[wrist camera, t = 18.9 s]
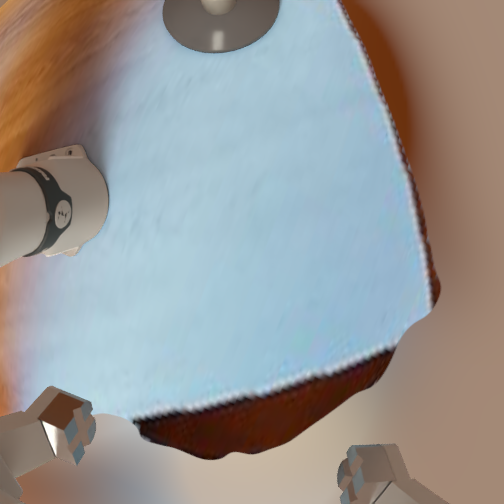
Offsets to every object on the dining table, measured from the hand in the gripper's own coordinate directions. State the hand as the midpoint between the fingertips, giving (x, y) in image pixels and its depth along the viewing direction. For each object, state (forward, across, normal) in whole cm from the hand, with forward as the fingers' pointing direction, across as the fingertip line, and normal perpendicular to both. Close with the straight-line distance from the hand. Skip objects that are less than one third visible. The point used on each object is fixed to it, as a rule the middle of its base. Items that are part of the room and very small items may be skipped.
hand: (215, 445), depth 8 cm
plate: (+39, +11, -34) cm, 53 cm away
